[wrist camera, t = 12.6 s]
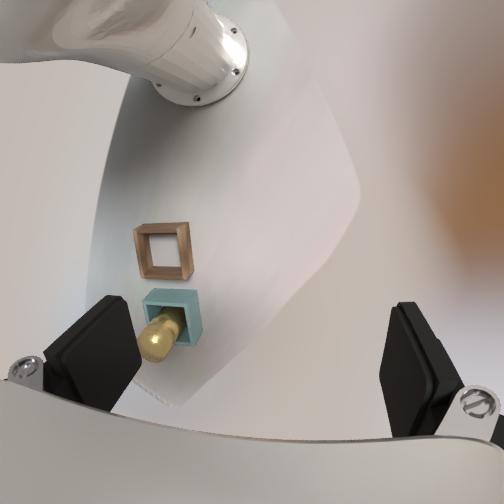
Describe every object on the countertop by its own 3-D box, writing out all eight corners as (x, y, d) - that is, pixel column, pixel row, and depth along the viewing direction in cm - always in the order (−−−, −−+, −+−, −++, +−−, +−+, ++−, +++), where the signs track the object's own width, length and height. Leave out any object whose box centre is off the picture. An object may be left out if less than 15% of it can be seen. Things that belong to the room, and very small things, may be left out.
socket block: (143, 223, 41) (132, 229, 38) (188, 222, 40) (180, 228, 37) (150, 269, 43) (141, 278, 40) (194, 270, 42) (186, 279, 39)
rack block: (154, 288, 44) (141, 300, 40) (196, 290, 43) (187, 303, 39) (161, 327, 46) (151, 341, 42) (202, 330, 45) (194, 346, 41)
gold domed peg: (163, 296, 44) (132, 333, 35) (189, 297, 43) (161, 337, 34) (168, 320, 45) (139, 360, 36) (193, 322, 45) (168, 364, 35)
